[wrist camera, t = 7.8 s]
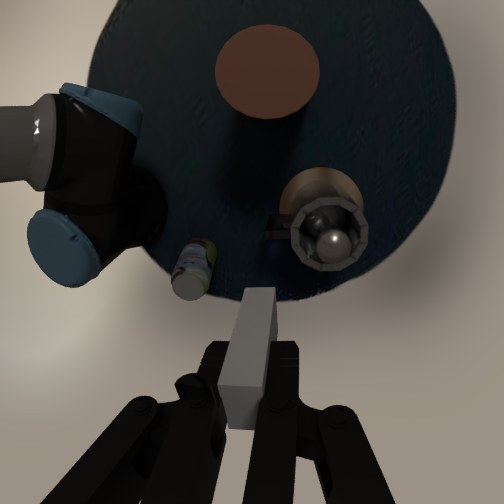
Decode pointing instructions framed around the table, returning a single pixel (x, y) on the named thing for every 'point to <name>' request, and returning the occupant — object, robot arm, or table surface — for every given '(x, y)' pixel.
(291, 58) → the coffee jar
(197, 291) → the beverage can
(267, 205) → the table surface
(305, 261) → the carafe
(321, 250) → the plunger
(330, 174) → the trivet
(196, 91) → the table surface
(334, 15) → the table surface
